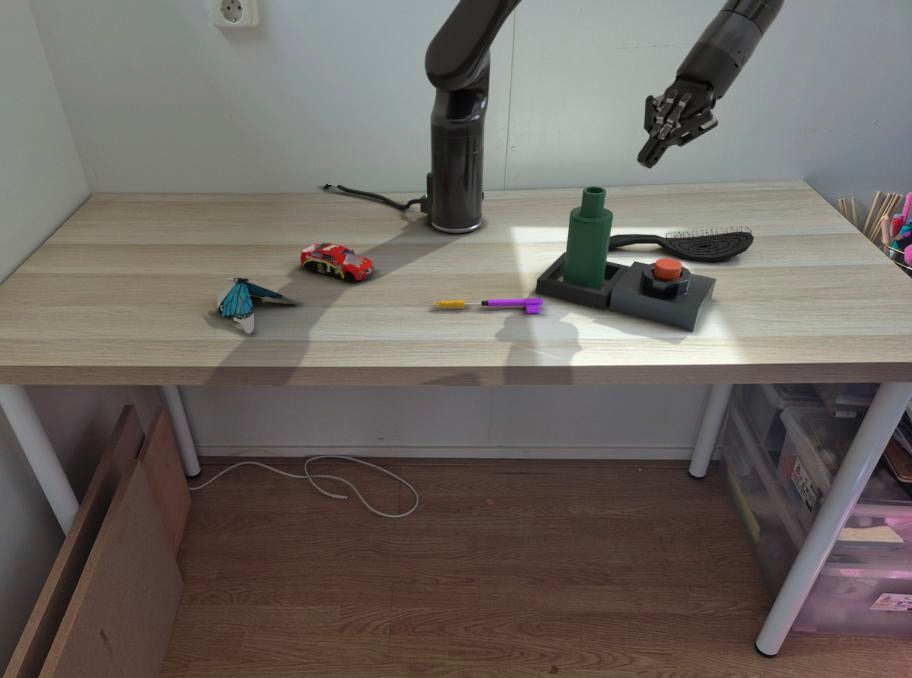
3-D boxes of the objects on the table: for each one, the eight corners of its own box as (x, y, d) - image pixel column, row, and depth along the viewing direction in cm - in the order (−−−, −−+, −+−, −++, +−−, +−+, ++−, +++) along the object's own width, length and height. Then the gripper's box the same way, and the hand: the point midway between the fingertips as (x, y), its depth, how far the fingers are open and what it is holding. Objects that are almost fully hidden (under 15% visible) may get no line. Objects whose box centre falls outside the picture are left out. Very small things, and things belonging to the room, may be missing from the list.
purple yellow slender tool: (542, 302, 105) (434, 304, 106) (542, 296, 104) (434, 298, 105) (543, 314, 103) (434, 316, 104) (544, 309, 102) (434, 311, 103)
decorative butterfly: (244, 264, 111) (286, 264, 105) (257, 302, 114) (300, 304, 108) (194, 290, 104) (237, 292, 98) (210, 329, 107) (252, 334, 101)
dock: (535, 293, 108) (536, 279, 107) (562, 265, 115) (564, 251, 114) (603, 311, 103) (606, 295, 102) (627, 280, 110) (630, 266, 109)
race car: (380, 273, 116) (379, 250, 113) (361, 286, 112) (359, 264, 110) (317, 255, 122) (314, 234, 119) (297, 268, 118) (294, 246, 116)
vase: (556, 290, 108) (566, 193, 99) (571, 274, 112) (582, 180, 103) (593, 300, 106) (607, 201, 97) (607, 283, 110) (622, 186, 101)
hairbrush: (593, 222, 122) (748, 219, 117) (591, 242, 124) (744, 240, 119) (596, 243, 115) (760, 241, 111) (594, 263, 117) (755, 262, 113)
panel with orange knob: (608, 310, 103) (613, 277, 100) (630, 282, 110) (636, 250, 106) (692, 332, 98) (701, 297, 94) (710, 301, 104) (719, 267, 101)
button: (650, 277, 100) (652, 265, 99) (657, 266, 103) (659, 256, 102) (675, 282, 99) (678, 271, 98) (682, 272, 101) (685, 261, 100)
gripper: (671, 34, 102) (599, 141, 106) (745, 47, 92) (663, 164, 96) (695, 64, 106) (625, 165, 110) (767, 79, 97) (688, 190, 100)
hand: (643, 164), depth 103 cm, fingers closed
